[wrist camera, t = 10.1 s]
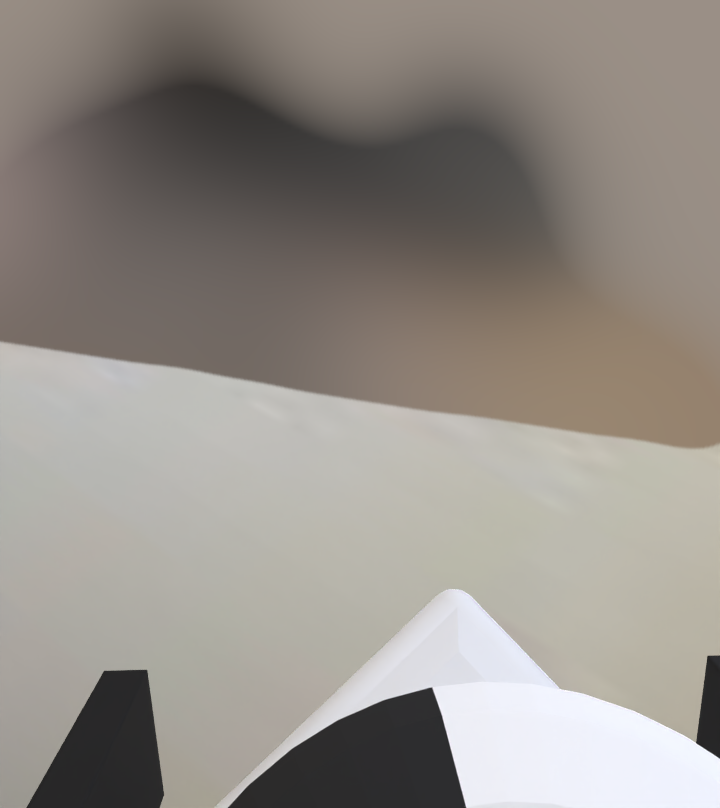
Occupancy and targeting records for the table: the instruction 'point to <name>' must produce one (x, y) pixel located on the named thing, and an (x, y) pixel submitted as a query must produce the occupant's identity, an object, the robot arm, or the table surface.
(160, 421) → the table surface
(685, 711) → the table surface
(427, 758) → the medicine bottle
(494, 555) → the table surface
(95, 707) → the robot arm
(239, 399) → the table surface
